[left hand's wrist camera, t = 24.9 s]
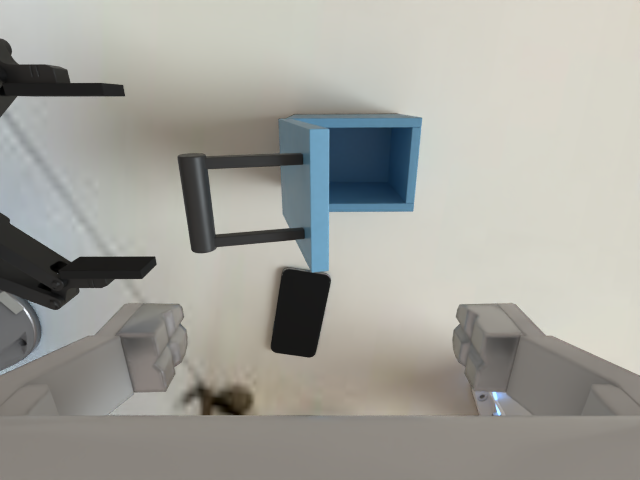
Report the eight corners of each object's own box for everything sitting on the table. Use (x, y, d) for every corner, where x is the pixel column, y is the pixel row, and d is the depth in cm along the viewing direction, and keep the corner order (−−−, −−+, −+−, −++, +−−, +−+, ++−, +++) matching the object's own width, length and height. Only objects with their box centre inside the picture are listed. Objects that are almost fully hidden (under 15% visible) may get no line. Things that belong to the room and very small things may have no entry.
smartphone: (332, 276, 51) (314, 358, 56) (332, 273, 52) (314, 355, 57) (282, 267, 51) (269, 352, 56) (283, 265, 51) (270, 349, 57)
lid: (329, 128, 21) (167, 132, 19) (328, 271, 24) (191, 286, 22) (291, 118, 33) (191, 120, 31) (294, 213, 36) (204, 220, 34)
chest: (398, 113, 44) (422, 117, 33) (393, 187, 47) (413, 211, 37) (293, 114, 44) (285, 118, 33) (296, 187, 47) (289, 212, 37)
